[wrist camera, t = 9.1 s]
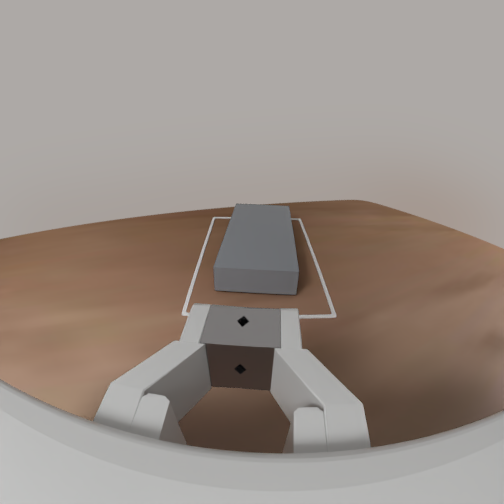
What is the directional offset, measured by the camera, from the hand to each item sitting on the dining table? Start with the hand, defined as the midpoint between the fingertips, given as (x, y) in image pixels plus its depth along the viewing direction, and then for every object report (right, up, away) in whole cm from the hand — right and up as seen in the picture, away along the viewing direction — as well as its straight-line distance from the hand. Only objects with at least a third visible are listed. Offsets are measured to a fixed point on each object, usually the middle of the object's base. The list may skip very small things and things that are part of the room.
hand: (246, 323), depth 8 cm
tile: (0, 0, +12) cm, 12 cm away
